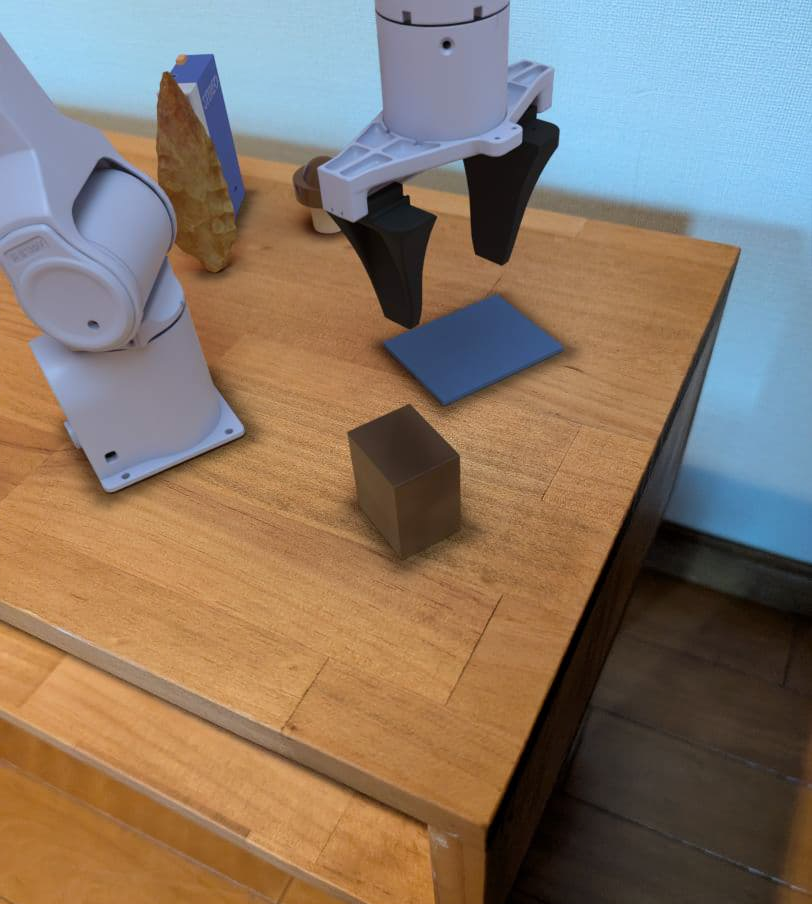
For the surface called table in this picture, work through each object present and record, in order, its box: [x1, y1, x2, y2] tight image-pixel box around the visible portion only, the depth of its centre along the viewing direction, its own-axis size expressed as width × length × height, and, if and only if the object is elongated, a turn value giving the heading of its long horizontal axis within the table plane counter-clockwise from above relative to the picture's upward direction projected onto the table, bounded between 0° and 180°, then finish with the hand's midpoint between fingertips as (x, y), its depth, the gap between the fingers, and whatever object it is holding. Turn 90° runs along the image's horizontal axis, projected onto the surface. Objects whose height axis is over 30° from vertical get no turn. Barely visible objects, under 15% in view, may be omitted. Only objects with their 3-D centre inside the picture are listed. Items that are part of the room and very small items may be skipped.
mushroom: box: [291, 154, 342, 235], centre depth 65 cm, size 5×5×6 cm
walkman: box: [156, 53, 246, 221], centre depth 65 cm, size 8×3×12 cm, turn 176°
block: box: [346, 403, 462, 561], centre depth 43 cm, size 4×5×6 cm
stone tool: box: [155, 70, 237, 274], centre depth 58 cm, size 5×2×15 cm, turn 121°
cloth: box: [382, 293, 565, 407], centre depth 55 cm, size 10×8×1 cm
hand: (448, 288), depth 43 cm, fingers open, 7 cm apart
